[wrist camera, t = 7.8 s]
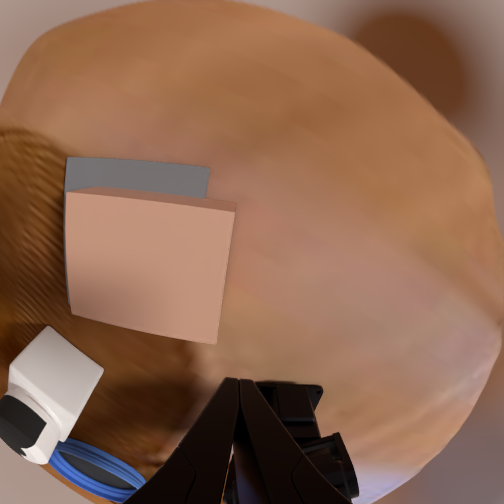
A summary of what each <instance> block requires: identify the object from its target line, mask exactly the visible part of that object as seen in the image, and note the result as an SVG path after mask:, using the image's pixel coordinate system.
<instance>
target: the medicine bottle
mask: <svg viewBox="0 0 504 504" xmlns="http://www.w3.org/2000/svg"><path fill="white" fill-rule="evenodd" d="M103 371H104V369H103V368H102V367H101V366H100V365H98V364H97V363H95V362H94V361H93V360H91V359H90V358H89V357H87V356H86V355H85V354H83V353H82V352H81V351H79V350H78V349H77V348H76V347H74V346H73V345H72V344H71V343H69V342H68V341H67V340H66V339H65V338H63V337H62V336H61V335H60V334H59V333H57V332H56V331H55V330H54V329H53V328H52V327H51V326H46V327H45V328H44V329H43V330H42V331H41V332H40V333H39V334H38V335H37V336H36V337H35V338H34V339H33V340H32V341H31V343H30V344H29V345H28V346H27V347H26V348H25V349H24V350H23V351H22V352H21V353H20V354H19V355H18V356H17V357H16V358H15V359H14V360H13V362H12V363H11V364H10V367H9V380H8V391H7V392H6V394H5V395H4V396H3V398H2V399H1V400H0V438H1V439H2V440H3V441H4V442H5V443H6V444H7V445H8V446H9V447H10V448H12V449H13V450H14V451H15V452H16V453H18V454H19V455H20V456H22V457H24V458H25V459H27V460H29V461H31V462H34V463H37V464H46V463H48V461H49V459H50V457H51V455H52V453H53V451H54V449H55V447H56V445H57V443H58V441H59V440H60V441H61V442H64V441H65V440H66V439H67V437H68V435H69V433H70V431H71V430H72V428H73V426H74V424H75V423H76V421H77V419H78V417H79V415H80V413H81V412H82V410H83V408H84V406H85V404H86V402H87V400H88V399H89V397H90V395H91V393H92V391H93V390H94V388H95V386H96V384H97V383H98V381H99V379H100V377H101V376H102V374H103Z"/></svg>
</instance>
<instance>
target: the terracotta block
mask: <svg viewBox="0 0 504 504" xmlns="http://www.w3.org/2000/svg"><path fill="white" fill-rule="evenodd" d="M235 210H236V203H233V202H226V201H219V200H212V199H205V198H198V197H190V196H183V195H175V194H167V193H158V192H150V191H141V190H131V189H121V188H111V187H100V186H96V187H90V188H85V189H79V190H74V191H69V192H66V217H65V235H66V262H67V276H68V287H69V297H70V305H71V312H72V314H74V315H78V316H81V317H85V318H89V319H92V320H96V321H100V322H104V323H108V324H112V325H116V326H120V327H124V328H129V329H133V330H138V331H142V332H147V333H152V334H157V335H162V336H167V337H173V338H178V339H184V340H190V341H196V342H202V343H209V344H215V345H216V342H217V334H218V327H219V319H220V312H221V304H222V297H223V290H224V283H225V276H226V269H227V262H228V256H229V249H230V242H231V236H232V229H233V223H234V216H235Z"/></svg>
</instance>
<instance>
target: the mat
mask: <svg viewBox="0 0 504 504" xmlns="http://www.w3.org/2000/svg"><path fill="white" fill-rule="evenodd" d="M209 172H210V168H207V167H199V166H191V165H182V164H173V163H163V162H152V161H140V160H126V159H109V158H85V157H67V165H66V176H65V190H64V218H63V233H64V261H65V275H66V286H67V295H68V303H69V304H70V297H69V287H68V276H67V262H66V235H65V217H66V192H69V191H74V190H79V189H85V188H90V187H96V186H100V187H111V188H121V189H131V190H141V191H150V192H158V193H167V194H175V195H183V196H190V197H198V198H206V191H207V185H208V178H209Z"/></svg>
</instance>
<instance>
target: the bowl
mask: <svg viewBox="0 0 504 504" xmlns="http://www.w3.org/2000/svg"><path fill="white" fill-rule="evenodd" d="M48 462H49V464H50V465H51V466H52V467H53V468H54V469H55V470H56V471H57V472H58V473H60V474H61V475H62V476H63V477H65V478H66V479H68V480H69V481H71V482H72V483H74V484H75V485H77V486H79V487H80V488H82V489H84V490H86V491H88V492H90V493H92V494H95V495H97V496H100V497H102V498H105V499H108V500H111V501H115V502H119V503H123V502H124V501H125V500H127V499H128V498H129V497H130V496H131V495H132V494H133V493H135V492H136V491H137V490H138V489H139V488H140V487H141V486H142V485H144V484H145V483H146V481H145V480H144V478H143V477H142V476H141V475H140V474H139V473H138V472H137V471H136V470H135V469H133V468H132V467H130V466H129V465H127V464H126V463H124V462H123V461H121V460H119V459H118V458H116V457H114V456H112V455H110V454H108V453H106V452H104V451H102V450H100V449H98V448H96V447H94V446H91V445H89V444H86V443H84V442H81V441H78V440H75V439H71V438H67V439H66V440H65V441H64V442H61V441H60V440H59V441H58V443H57V445H56V447H55V449H54V451H53V453H52V455H51V457H50V459H49V461H48Z"/></svg>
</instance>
